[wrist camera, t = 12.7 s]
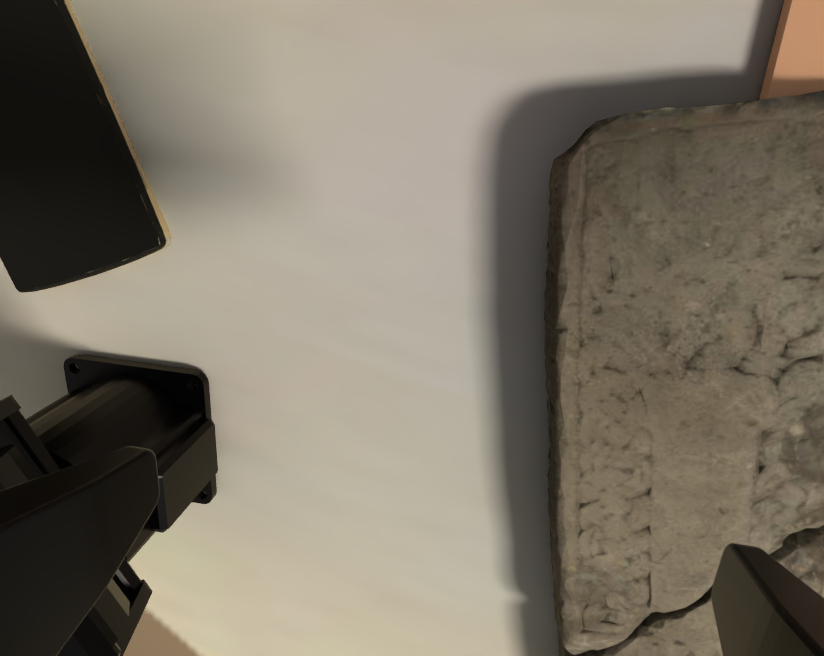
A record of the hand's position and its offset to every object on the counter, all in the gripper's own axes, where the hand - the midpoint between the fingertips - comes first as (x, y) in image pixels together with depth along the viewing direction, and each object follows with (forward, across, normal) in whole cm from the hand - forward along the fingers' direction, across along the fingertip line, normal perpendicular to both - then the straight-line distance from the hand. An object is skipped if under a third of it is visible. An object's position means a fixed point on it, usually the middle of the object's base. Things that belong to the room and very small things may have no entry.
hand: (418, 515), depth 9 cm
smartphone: (+14, +18, -6) cm, 23 cm away
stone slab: (+13, -9, +8) cm, 18 cm away
